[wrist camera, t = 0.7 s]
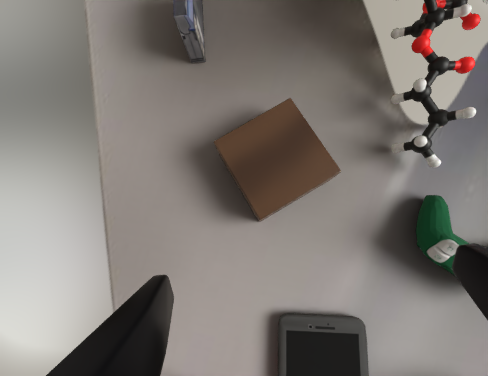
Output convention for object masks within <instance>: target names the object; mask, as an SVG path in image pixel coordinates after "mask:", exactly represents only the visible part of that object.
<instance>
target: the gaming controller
mask: <svg viewBox="0 0 488 376" xmlns="http://www.w3.org/2000/svg"><path fill="white" fill-rule="evenodd" d="M416 236H417V246H418V247H419V248H421V250H422V252H423V253H424V254H425V255H426V256H427V257H428V258H429V259H430V260H431V261H433V262H434V263H435V264H437V265H438V266H441V267H443V268H444V269H446V270H447V271H449V272H450V273H451V274H453V275H454V273H453V270H452V263H453V260H454V256H455V253H456V249H457V247H458V246H459V245H463V244H469V243H467V242H466V241H464V240H463V239H461V238H459V237H458V236H456V235H455V234H453V232H452V229H451V222H450V216H449V210H448V206H447V204H446V202H445V201H444V199H443V198H442V197H441V196H437V195H427V196H426V197H425V199H424V201H423V203H422V206H421V209H420V211H419V215H418V221H417V226H416ZM454 276H455V275H454Z"/></svg>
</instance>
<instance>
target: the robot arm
mask: <svg viewBox="0 0 488 376" xmlns="http://www.w3.org/2000/svg"><path fill="white" fill-rule="evenodd" d="M452 270H453V273H454V275H455V276H456V277H457V279H458V280H459V282H460V283H461V284H462V286H463V287H464V288H465V290H466V291H467V293H468V294H469V295H470V297H471V298H472V299H473V301H474V302H475V304H476V305H477V306H478V308H479V309H480V310H481V312H482V313H483V315H484V316H485V317H486V319H487V320H488V248H487V247H484V246H481V245H478V244H463V245H459V246H458V247H457V249H456V253H455V256H454V260H453V263H452ZM173 303H174V295H173V291H172V288H171V284H170V281H169V278H168V276H167V275H156V276H153V277H152V278H151V279H150V280H149V281H147V282H146V283H145V284H144V285H143V286H142V287H141V288H140V289H139V290H138V291H137V292H136V293H135V294H133V295H132V296H131V297H130V298H129V299H128V300H127V301H126V302H125V303H124V304H123V305H122V306H120V307H119V308H118V309H117V310H116V311H115V312H114V313H113V314H112V315H111V316H110V317H109V318H108V319H106V320H105V321H104V322H103V323H102V324H101V325H100V326H99V327H98V328H97V329H96V330H95V331H94V332H92V333H91V334H90V335H89V336H88V337H87V338H86V339H85V340H84V341H83V342H82V343H81V344H80V345H78V346H77V347H76V348H75V349H74V350H73V351H72V352H71V353H70V354H69V355H68V356H67V357H66V358H64V359H63V360H62V361H61V362H60V363H59V364H58V365H57V366H56V367H55V368H54V369H53V370H51V371H50V372H49V374H47V375H46V376H160V374H161V370H162V366H163V362H164V358H165V354H166V348H167V342H168V336H169V329H170V323H171V316H172V309H173Z"/></svg>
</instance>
